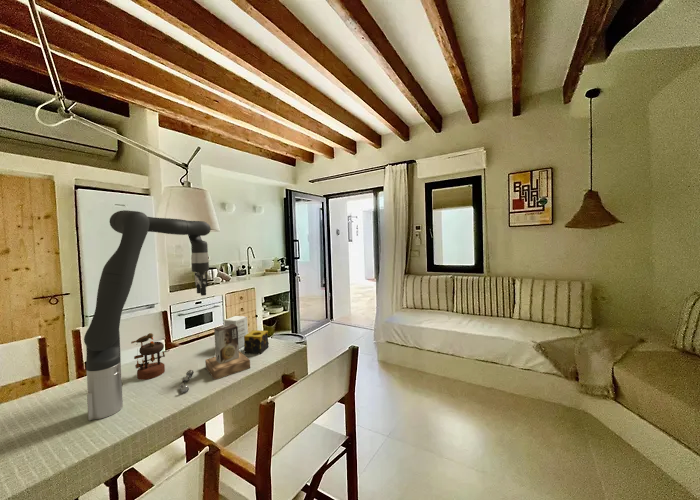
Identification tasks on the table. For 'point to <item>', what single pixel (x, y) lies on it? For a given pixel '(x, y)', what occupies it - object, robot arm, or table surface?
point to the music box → (151, 348)
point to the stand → (227, 366)
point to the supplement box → (239, 327)
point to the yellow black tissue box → (256, 342)
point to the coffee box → (226, 343)
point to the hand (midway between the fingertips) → (201, 294)
